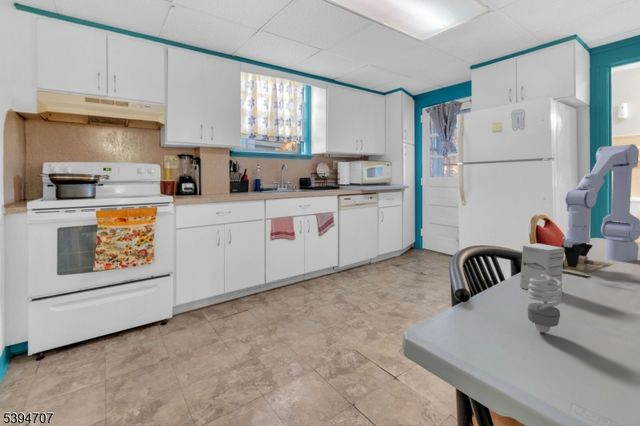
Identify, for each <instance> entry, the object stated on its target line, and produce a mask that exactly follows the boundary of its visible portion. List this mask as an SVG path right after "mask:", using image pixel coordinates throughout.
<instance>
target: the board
mask: <svg viewBox="0 0 640 426" xmlns="http://www.w3.org/2000/svg"><path fill="white" fill-rule="evenodd" d="M586 257H588V256H586ZM588 261H593V262H594V263H593V265H590V264H587V269H585V270H577V269H572V268H567V267H564V263H565V259H563V270H562V274H565V275H570V276H574V277H578V278H583V279H584V278H585V279H589V278H591V277H592V276H590V275H588V274H590V273H593V272H597V271H598V270H602V269H604V268H607V267H611V266H613V265H614V263H610V262H604V261H597V260H591V259H588ZM565 270H566V271H565ZM569 271H571V272H569ZM581 273H582V274H581Z"/></svg>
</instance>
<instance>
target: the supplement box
mask: <svg viewBox="0 0 640 426" xmlns="http://www.w3.org/2000/svg"><path fill="white" fill-rule="evenodd" d="M564 249H565V248H562V246H561V247H560V246H554V245H549V244H543V243H537V242H536V243H530V244H523V245H522V255H521V268H520V280H519V281H520V282H519V288H520V287H521V288H522V289H525V290H528V289H533V288H530V287H529V286H528V285H529V284H530V283H532V282H530V281H529V280H530V278H538V279H543V278H541V277H540V275H546V276H550V277H553V278H556V279H558V280H559V281H560V282H561V283H562V280H563V279H562V278H563V273H562V271H564V269H563V260H564V258H565V253H564ZM543 280H546V279H543ZM551 282H553V283H555V284H557V283H556V282H554V281H551ZM535 284H536V283H535ZM542 285H546V286H551V285H548V284H542ZM556 290H558V289H556ZM544 291H547V292H552V291H549V290H544Z"/></svg>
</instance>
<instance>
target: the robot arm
mask: <svg viewBox="0 0 640 426" xmlns="http://www.w3.org/2000/svg"><path fill="white" fill-rule="evenodd" d="M639 153H640V151H639V149H638V146H637V145H636V144H634V143H631V144H623V145H611V146H610V145H609V146H600V147H599V148H597V151H596V153H595V161H596V163H595V164H594V165H593V168H592V170H591V171H590V173H586V174H585V175H584V176H583V177H582V178H581V180H580V181H579V182H578V184H577V186H576V187H575V189H571V190H570V191H568V192H567V194H566V197H565V198H564V199H565V204H566V211H567V212H568V218H567V219H568V220H567V230H566V236H563V237H562V240H564V241H563V244H562V245H561V248H565V249H564V256H565V255H566V259H567V264H568V266H569V267H574V268H576V266H577V264H578V259H579V256H585V257H586V256H587V255H588V254H589V252H590V250H591V249H592V248H593V244H590V243H591V237H590V227H591V217H592V216H591V213H592V208H593V207H594V206H595V205H596V202H597V199H598V192H599V191H600V190H601V188H602V186H603V185H604V183H605V180H604V177H605V176H606V175H607V173H608V172H609V171H610V170H611V172H613V173H612V191H611V192H612V194H611V213H610V214H608V215H606V216H605V217H603V219H602V224H601V227H600V234H601V235H602V237H604V239H606V241H605V253H604V254H605V255H604V258H605V259H606V260H610V261H615V262H626V263H629V262H632V261H633V262H634V261H638V258H639V257H638V256H639V245H638V243H637V242H636V241H637V240H638V239H639V238H640V218H638V217H636V216H635V215H633V214H632V213H630V212H631V199H632V197H631V196H632V195H631V194H632V193H631V192H632V176H633V169H634V168H636V167H638V165H639V157H640V155H639ZM587 257H588V256H587Z"/></svg>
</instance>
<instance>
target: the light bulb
mask: <svg viewBox="0 0 640 426" xmlns="http://www.w3.org/2000/svg"><path fill="white" fill-rule="evenodd" d="M540 277H541V278H543V279H546V280H543V279H538V278H530V280H529V281H530V282H532V283H530V284H529V285H528V286H529V287H530V288H533V289H527V292H528V293H529V294H528V298H529V299H530V300H533V301H538V302H532V303H529V304H528V305H527V318H528V320H529V321H530V322H531V323H533V324H534V329H535V330H536V331H538V332H539V333H541V334H546V333H549V332H550V331H551V327H557V326H558V325H559V322H560V317H561V311H560V309H558V308H557V306H559V305H560V304H561V302H562V298H563V294H562V293H563V288H562V287H563V283H562V281H561V282H560V281H559V280H558V279H556V278H553V277H550V276H546V275H540ZM551 281H554V282H556V283H557V284H555V283H553V282H551ZM535 283H536V284H535ZM542 284H548V285H551V286H546V285H542ZM556 289H558V290H556ZM544 290H549V291H552V292H547V291H544ZM542 302H543V303H542Z"/></svg>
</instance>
